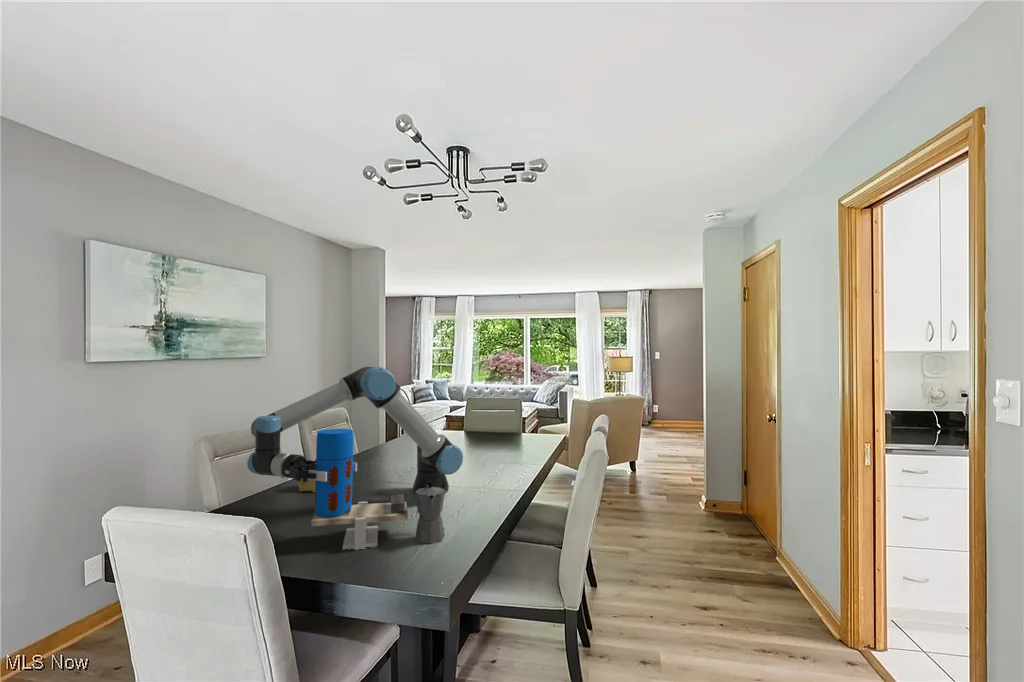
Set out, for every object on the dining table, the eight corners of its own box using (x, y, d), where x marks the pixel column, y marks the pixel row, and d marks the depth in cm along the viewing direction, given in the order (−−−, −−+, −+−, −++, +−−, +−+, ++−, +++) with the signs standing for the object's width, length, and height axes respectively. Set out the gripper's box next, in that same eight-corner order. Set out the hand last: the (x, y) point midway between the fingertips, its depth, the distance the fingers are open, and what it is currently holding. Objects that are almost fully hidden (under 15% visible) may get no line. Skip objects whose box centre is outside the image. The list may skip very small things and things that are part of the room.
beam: (406, 506, 167) (406, 492, 167) (407, 519, 153) (408, 504, 153) (317, 511, 160) (317, 497, 160) (311, 526, 146) (311, 510, 147)
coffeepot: (446, 545, 151) (447, 485, 152) (415, 547, 149) (415, 487, 150) (442, 528, 166) (442, 474, 167) (413, 530, 164) (414, 475, 165)
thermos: (358, 508, 158) (360, 429, 159) (336, 519, 148) (338, 434, 149) (330, 504, 161) (332, 427, 162) (307, 514, 151) (309, 432, 152)
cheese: (319, 493, 208) (320, 469, 208) (296, 491, 210) (297, 468, 210) (333, 486, 218) (333, 463, 218) (311, 485, 220) (312, 462, 220)
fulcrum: (378, 527, 166) (378, 500, 167) (377, 548, 149) (377, 517, 149) (347, 530, 164) (347, 502, 164) (342, 551, 146) (342, 520, 147)
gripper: (317, 469, 173) (367, 474, 166) (257, 486, 150) (311, 494, 142) (317, 447, 174) (367, 452, 166) (257, 461, 150) (312, 468, 143)
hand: (342, 471), depth 154 cm, fingers open, 13 cm apart
